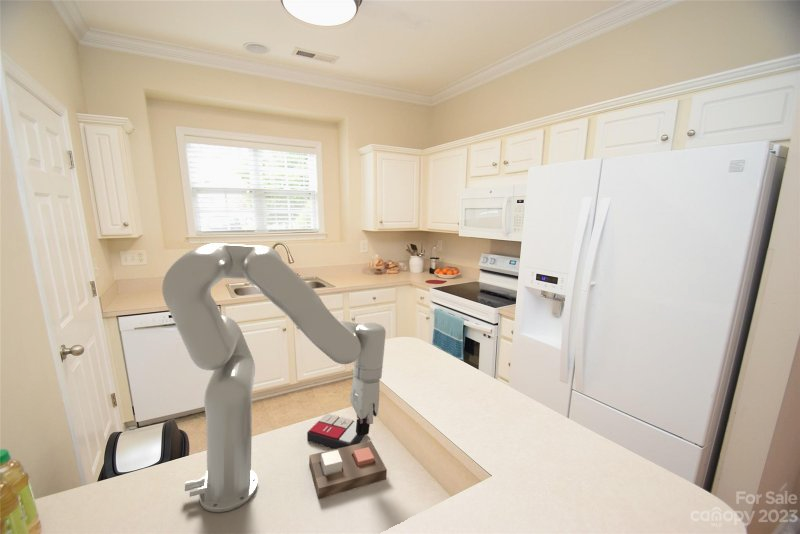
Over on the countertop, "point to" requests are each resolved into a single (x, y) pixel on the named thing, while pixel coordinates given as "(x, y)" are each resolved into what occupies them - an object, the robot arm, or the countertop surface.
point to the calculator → (334, 432)
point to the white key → (331, 463)
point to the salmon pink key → (363, 457)
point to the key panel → (346, 471)
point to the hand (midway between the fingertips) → (362, 433)
